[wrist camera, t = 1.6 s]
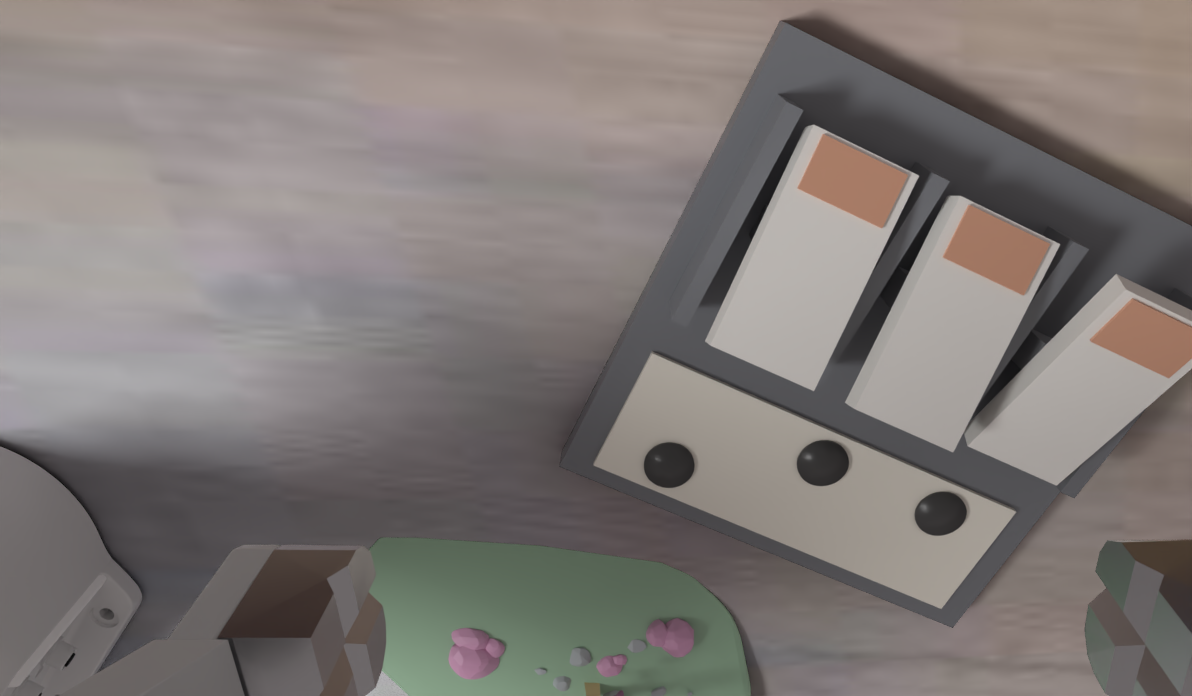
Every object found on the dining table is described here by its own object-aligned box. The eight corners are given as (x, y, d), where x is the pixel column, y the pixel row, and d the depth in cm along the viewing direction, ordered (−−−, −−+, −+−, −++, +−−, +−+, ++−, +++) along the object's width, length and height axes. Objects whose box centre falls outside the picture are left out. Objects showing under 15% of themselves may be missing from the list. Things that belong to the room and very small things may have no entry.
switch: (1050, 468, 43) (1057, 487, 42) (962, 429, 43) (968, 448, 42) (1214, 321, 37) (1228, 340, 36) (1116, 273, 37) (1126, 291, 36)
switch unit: (943, 610, 51) (968, 659, 47) (561, 452, 48) (555, 492, 44) (1227, 244, 42) (1285, 271, 38) (780, 20, 39) (795, 26, 35)
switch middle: (940, 445, 40) (954, 453, 39) (844, 402, 39) (855, 409, 38) (1044, 242, 39) (1062, 244, 38) (947, 195, 38) (961, 195, 37)
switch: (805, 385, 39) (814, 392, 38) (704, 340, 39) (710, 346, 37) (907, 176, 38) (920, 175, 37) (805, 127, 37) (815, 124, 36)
